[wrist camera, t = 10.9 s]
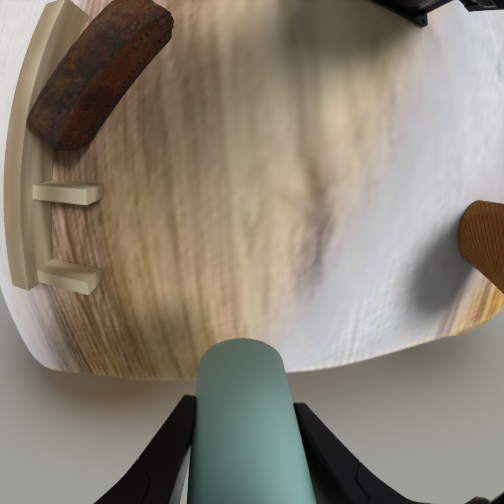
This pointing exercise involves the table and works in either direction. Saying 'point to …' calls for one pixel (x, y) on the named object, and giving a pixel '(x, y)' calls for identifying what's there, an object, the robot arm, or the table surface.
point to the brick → (98, 71)
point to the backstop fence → (41, 165)
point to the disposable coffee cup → (484, 239)
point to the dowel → (246, 430)
